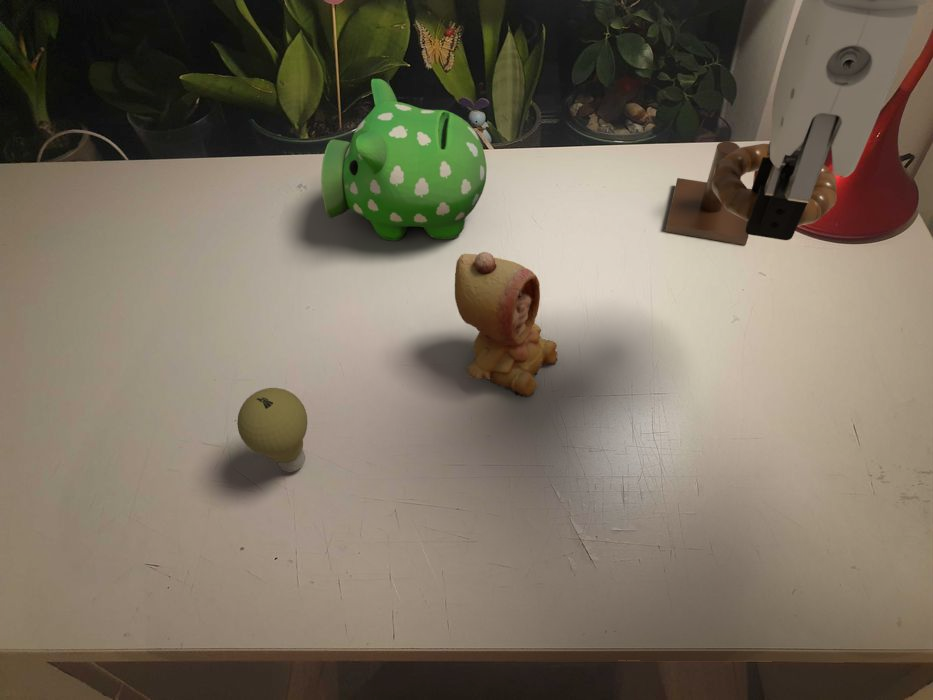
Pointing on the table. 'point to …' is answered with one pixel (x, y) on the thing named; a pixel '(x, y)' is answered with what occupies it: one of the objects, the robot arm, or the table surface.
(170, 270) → the table surface
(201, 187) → the table surface
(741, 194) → the ring
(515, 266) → the figurine
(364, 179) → the piggy bank
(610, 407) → the table surface
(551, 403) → the table surface
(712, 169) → the post
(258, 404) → the light bulb
